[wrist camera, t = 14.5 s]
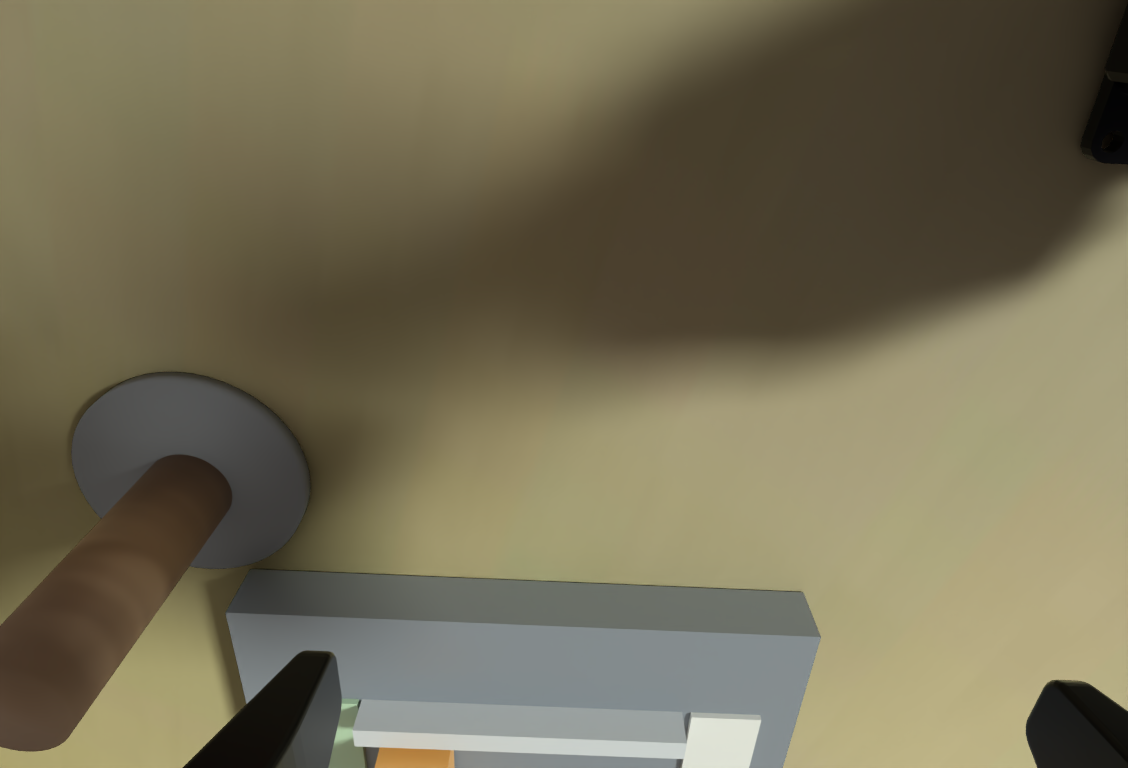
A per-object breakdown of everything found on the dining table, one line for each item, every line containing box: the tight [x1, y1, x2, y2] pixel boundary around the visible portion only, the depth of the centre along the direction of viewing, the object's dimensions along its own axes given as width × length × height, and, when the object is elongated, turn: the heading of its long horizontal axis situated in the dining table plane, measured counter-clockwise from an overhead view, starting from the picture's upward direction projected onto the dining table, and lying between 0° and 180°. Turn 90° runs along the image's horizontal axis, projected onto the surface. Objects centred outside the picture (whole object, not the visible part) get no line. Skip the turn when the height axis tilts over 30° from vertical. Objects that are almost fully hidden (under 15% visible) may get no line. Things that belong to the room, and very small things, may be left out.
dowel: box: [0, 454, 232, 751], centre depth 19 cm, size 3×3×8 cm
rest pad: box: [71, 372, 311, 569], centre depth 23 cm, size 7×7×1 cm
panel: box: [225, 569, 821, 768], centre depth 26 cm, size 19×13×3 cm
